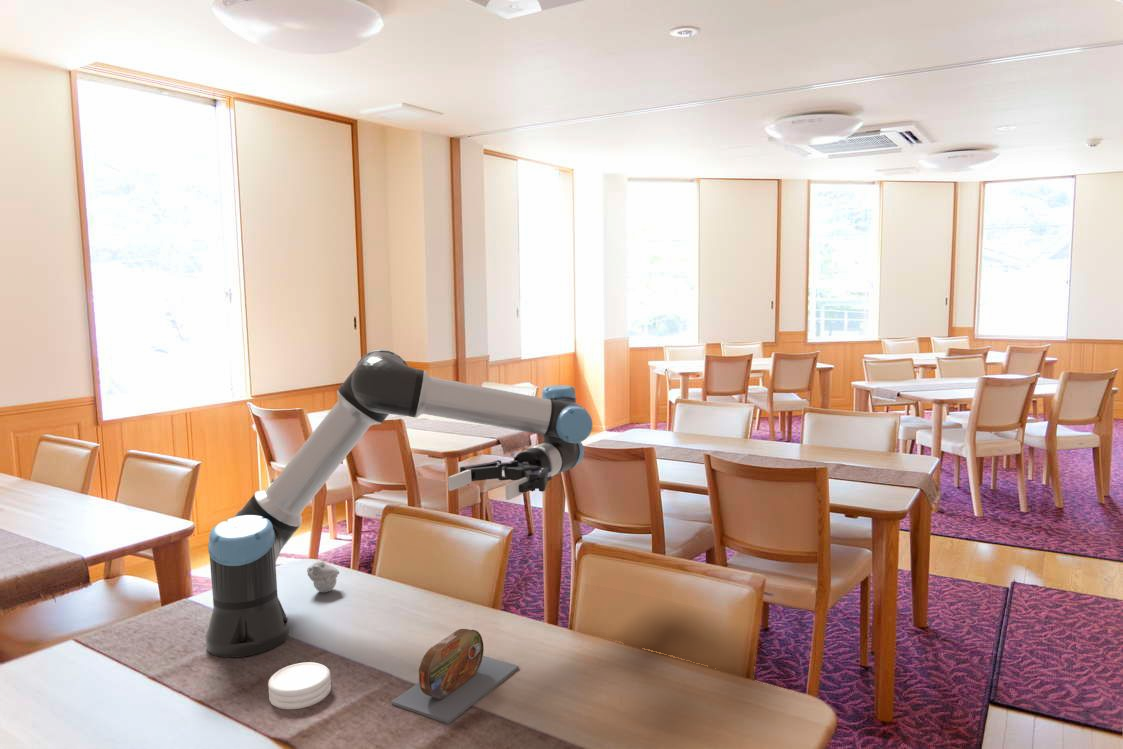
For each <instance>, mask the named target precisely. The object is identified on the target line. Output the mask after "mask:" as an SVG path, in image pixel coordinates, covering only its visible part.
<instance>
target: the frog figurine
mask: <svg viewBox="0 0 1123 749" xmlns="http://www.w3.org/2000/svg"><path fill="white" fill-rule="evenodd" d="M306 572H307V576H308V577H309V579H310V580H311V582H312V583H313V587H314V588H315V589H316V590H317V592H319V593H329V592H330V591H332V590H333V589H334V588H335V587H336V585H337V578H338V575H339V574H340V572H339V570H338V568H336V567H334V566H333V565H331V564H329V563H326V562H325V561H321V560H317V561H316V562H314V563H313V564H312V565H310V566H309V567H307V568H306ZM328 591H329V592H328Z"/></svg>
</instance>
